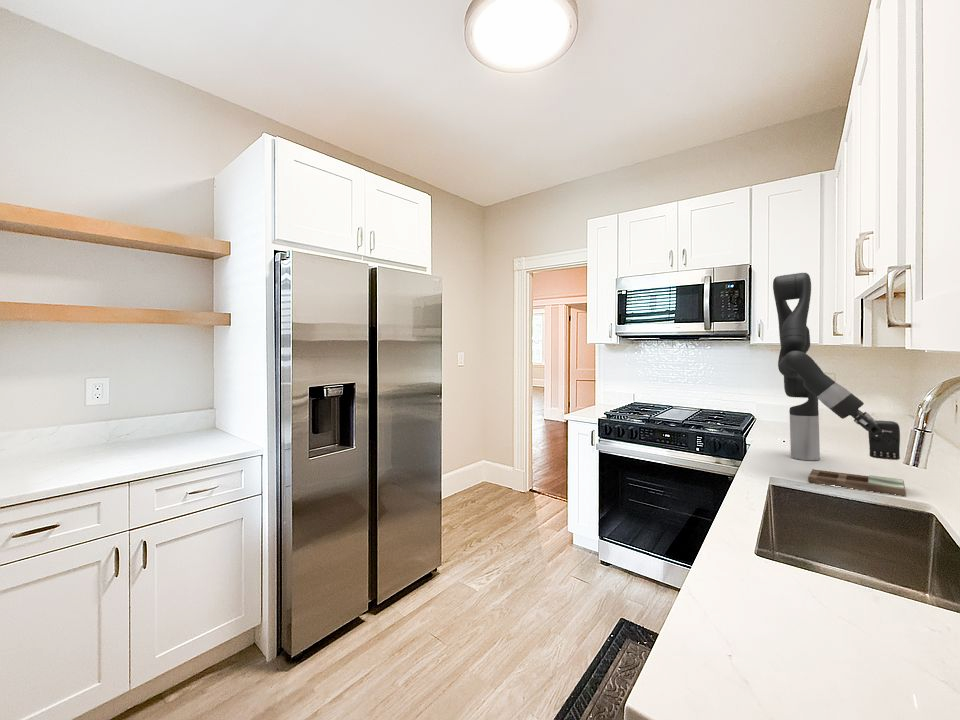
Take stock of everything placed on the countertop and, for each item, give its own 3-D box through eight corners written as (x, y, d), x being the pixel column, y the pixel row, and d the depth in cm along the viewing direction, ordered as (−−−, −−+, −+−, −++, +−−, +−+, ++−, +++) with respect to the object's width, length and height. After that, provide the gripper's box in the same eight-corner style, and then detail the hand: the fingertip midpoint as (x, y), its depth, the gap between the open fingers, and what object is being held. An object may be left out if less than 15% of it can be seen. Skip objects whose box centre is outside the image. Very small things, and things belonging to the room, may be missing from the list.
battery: (868, 458, 129) (868, 420, 129) (868, 456, 132) (868, 419, 132) (901, 461, 124) (900, 422, 125) (900, 459, 127) (899, 421, 127)
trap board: (812, 475, 145) (812, 468, 145) (903, 486, 130) (903, 479, 130) (808, 482, 136) (808, 475, 136) (905, 496, 121) (905, 488, 121)
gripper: (849, 393, 128) (907, 438, 120) (851, 391, 139) (904, 432, 130) (826, 410, 132) (881, 454, 124) (830, 406, 142) (881, 447, 134)
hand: (893, 442), depth 127 cm, fingers closed on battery, 3 cm apart
